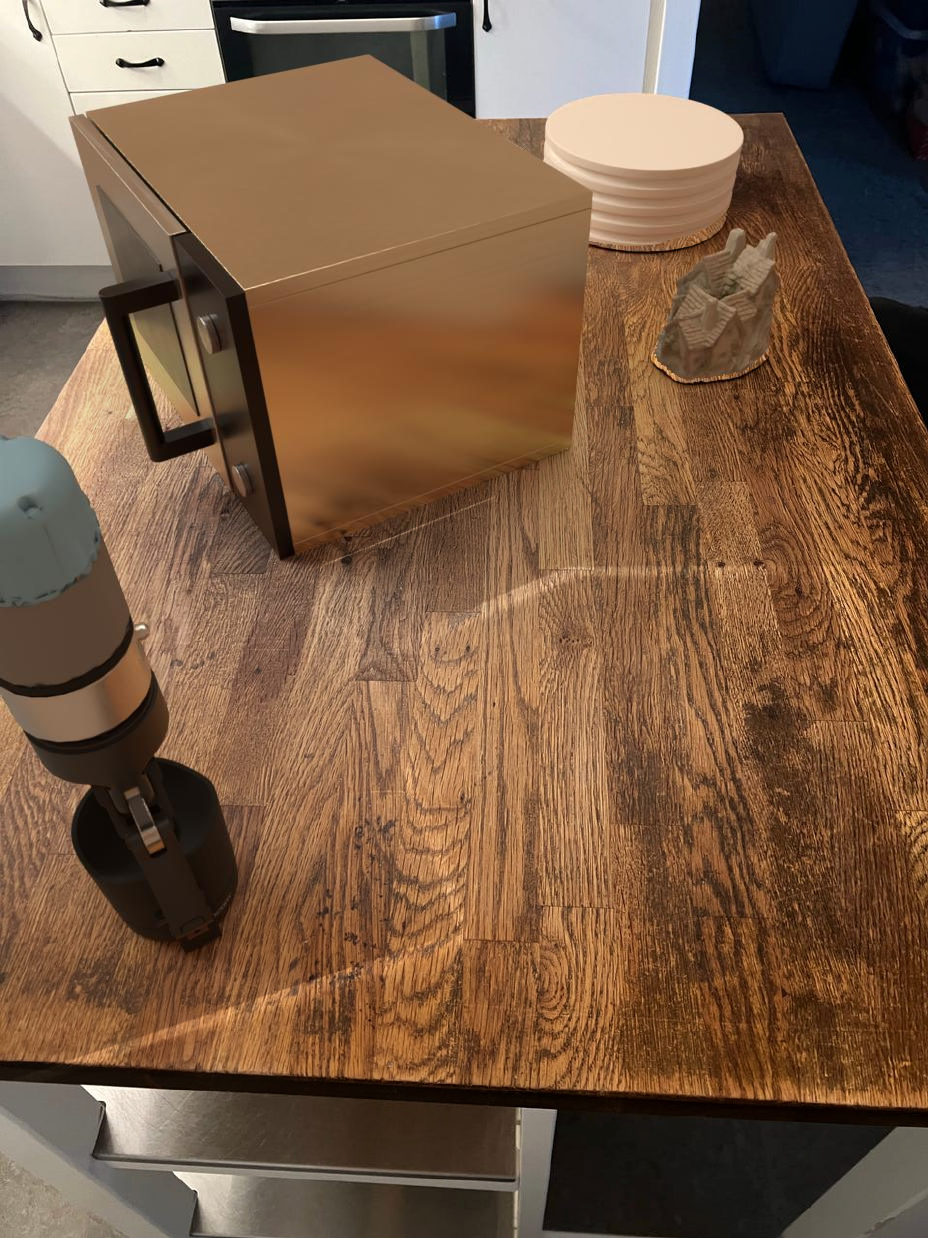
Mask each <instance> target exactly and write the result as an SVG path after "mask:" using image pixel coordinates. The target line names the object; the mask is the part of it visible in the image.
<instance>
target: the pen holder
mask: <svg viewBox="0 0 928 1238" xmlns="http://www.w3.org/2000/svg"><path fill="white" fill-rule="evenodd" d="M155 758H156V761H157V763H158V765H159V767H160V770H161V772H162V775H163V778H162V785H163V787H164V790H165V792H166V794H167V797H168V799H169V801H170V803H171V806H172V808H173V810H174V815H173V817H172V818H171V820H172V822H173V824H174V827H175V828H174V830H173V831H174V833H175V836H176V838H177V840H178V842H179V845H180V847H181V849H182V851H183V853H184V856H185V858H186V860H187V862H188V865H189V867H190V869H191V871H192V874H193V876H194V878H195V880H196V883H199V884H200V886H201V888H202V890H203V892H204V895H205V897H206V899H207V901H208V904H209V906H210V908H211V910H212V912H213V914H214V917H215V919H216V922H217V921H218V920H220V919H221V917H222V916H223V915H224V914H225V912H227V909H228V908H229V907H230V905H231V903H232V902H233V899H234V897H235V895H236V892H237V888H238V881H239V870H238V864H237V859H236V855H235V852H234V847H233V844H232V841H231V837H230V834H229V830H228V827H227V824H226V820H225V817H224V813H223V809H222V807H221V806H222V805H221V802H220V800H219V796H218V793H217V790H216V787H215V786H214V783H213V782H212V781H211V779H209V777H207V776H205V775H204V774H202V773H201V772H199V771H198V770H195V769H194V768H191V766H190V767H189V766H188V765H185V764H183V763H181V762H178V761H175V760H172V759H169V758H164V757H160V756H159V757H158V756H155ZM148 776H149V775H148ZM148 779H149V782H150V784H151V786H152V789H153V791H154V794H155V796H154V800H153V802H152V803H151V804H150V805H148V808H149V807H151V806H153V805H155V804H157V803H158V801H159V798H158V795H157V793H156V791H155V789H154V786H153V784H152V782H151V780H150V777H148ZM119 813H120V815H121V816H122V817H124V818H126V817H129V816H131V815H132V813H129V814H124V813H121V812H120V811H119ZM70 836H71V843H72V848H73V850H74V852H75V854H76V857H77V858H78V860H79V862H80V863H81V865H82V866H83V868H84V870H85V871H86V872H87V873H88V875H89V876H90V878H91V879H92V880H93V882H94V884H96V886H97V887H98V889H99V890H100V892H101V893H102V894H103V896H104V897H105V899H106V900H107V901H108V902H109V904H110V905H111V907H112V908H113V910H114V911H115V912H116V914H118V917H120V919H121V920H122V921H123V923H124V924H125V925H126V926H127V927H128V928H129V929H130V930H131V931H133V932H134V933H135V934H137V935H138V936H140V937H142V938H144V939H146V940H150V941H154V942H160V943H161V942H163V943H164V942H165V943H170V942H179V941H178V939H176V938H174V936H172V935H171V932H170V930H169V928H170V925H169V923H168V922H167V923H165V924H163V925H161V926H159V927H158V926H157V924H156V922H155V919H154V916H153V913H154V912H156V911H158V910H160V909H161V907H160V905H159V903H158V901H157V899H156V897H155V895H154V893H153V891H152V889H151V887H150V885H149V883H148V881H147V879H146V877H145V875H144V873H143V871H142V869H141V867H140V865H139V863H138V861H137V859H136V857H135V856H134V854H133V852H132V850H130V849H128V847H127V845H126V843H125V841H126V839H123V838H121V837H120V836H119V834H118V832H117V830H116V828H115V826H114V824H113V822H112V820H111V817H110V815H109V813H108V811H107V809H106V808H105V807H103V806H101V805H100V804H99V803H98V801H97V799H96V797H95V795H94V792H93V790H92V788H91V787H89V789H88V790H87V791H86V792H85V794H84V795H83V796H82V798H81V799H80V801H79V803H78V804H77V806H76V808H75V811H74V814H73V816H72V821H71V827H70Z"/></svg>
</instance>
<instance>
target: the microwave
mask: <svg viewBox="0 0 928 1238" xmlns="http://www.w3.org/2000/svg"><path fill="white" fill-rule="evenodd" d="M85 117H86V118H87V119H88V120H89V121H90V122H91V123H92V125H93V126H94V127H95V128H96V129H97V130H98V131H99V132H100V134H101V135H102V136H103V137H104V138H105V139H106V140H107V142H108V143H109V144H110V145H111V146H112V147H113V148H114V149H115V151H116V152H117V153H118V154H119V155H120V156H121V157H122V159H123V160H124V161H125V162H126V163H127V164H128V165H129V166H130V168H131V169H132V170H133V171H134V172H135V173H136V174H137V176H138V177H139V178H140V179H141V180H142V181H143V182H144V183H145V185H146V186H147V187H148V188H149V189H150V190H151V191H152V193H153V194H154V195H155V196H156V197H157V198H158V199H159V200H160V202H161V203H162V204H163V205H164V206H165V207H166V208H167V210H168V211H169V212H170V213H171V214H172V215H173V216H174V217H175V219H176V220H177V221H178V222H179V223H180V224H181V225H182V226H183V228H184V229H185V230H186V231H187V234H184V235H180V236H176V237H174V242H175V246H176V251H177V255H178V259H179V263H180V267H181V271H182V275H183V280H184V284H185V288H186V292H187V296H188V300H189V305H190V309H191V313H192V317H193V321H194V325H195V329H196V334H197V338H198V342H199V346H200V350H201V354H202V359H203V363H204V367H205V371H206V375H207V379H208V383H209V388H210V392H211V396H212V400H213V404H214V408H215V412H216V417H217V421H218V425H219V429H220V433H221V437H222V442H223V446H224V450H225V454H226V458H227V462H228V466H229V471H230V475H231V479H232V483H233V487H234V491H233V492H234V494H235V495H236V497H237V499H238V500H239V502H240V503H241V504H242V506H243V507H244V508H245V510H246V512H247V513H248V514H249V516H250V518H251V520H252V521H253V522H254V524H255V525H256V526H257V528H258V529H259V531H260V533H261V534H262V535H263V537H264V539H265V540H266V541H267V543H268V544H269V546H270V547H271V549H272V550H273V552H274V553H275V555H276V556H277V557H278V559H279V560H280V561H281V560H284V559H287V558H289V557H292V556H294V555H295V556H297V555H300V554H302V553H305V552H307V551H310V550H312V549H315V548H317V547H320V546H322V545H325V544H328V543H329V542H333V541H336V540H338V539H341V538H343V537H346V536H348V535H351V534H353V533H355V532H358V531H362V530H364V529H366V528H369V527H371V526H374V525H377V524H379V523H381V522H384V521H387V520H389V519H391V518H395V517H397V516H399V515H402V514H405V513H407V512H409V511H412V510H414V509H417V508H419V507H422V506H425V505H428V504H430V503H433V502H436V501H438V500H440V499H443V498H445V497H448V496H450V495H453V494H456V493H458V492H461V491H464V490H466V489H469V488H471V487H474V486H476V485H479V484H482V483H485V482H488V481H490V480H493V479H495V478H498V477H500V476H503V475H505V474H508V473H511V472H513V471H516V470H519V469H521V468H523V467H526V466H529V465H531V464H533V463H536V462H539V461H541V460H544V459H547V458H549V457H551V455H552V456H554V455H556V453H557V452H560V451H562V450H565V449H567V448H570V447H571V448H572V442H573V434H574V422H575V409H576V399H577V385H578V374H579V363H580V353H581V352H580V351H581V342H582V341H581V339H582V328H583V319H584V318H583V315H584V305H585V293H586V292H585V291H586V281H587V270H588V269H587V268H588V259H589V258H588V257H589V246H590V245H589V236H590V224H591V212H592V198H593V191H591V190H589V189H588V188H586V187H585V186H583V185H581V184H580V183H578V182H576V181H575V180H573V179H572V178H570V177H568V176H567V175H565V174H563V173H562V172H560V171H558V170H557V169H555V168H554V167H552V166H550V165H549V164H547V163H545V162H544V161H543V159H541V158H539V157H537V156H535V155H534V154H532V153H531V152H529V151H527V150H526V149H525V148H524V147H523V148H524V149H525V150H524V149H523V148H521V147H519V146H518V145H516V144H514V143H513V142H511V141H509V140H508V139H506V138H505V137H506V136H505V137H504V136H502V134H500V133H497V132H496V131H495V130H493V129H491V128H490V127H488V126H487V125H486V124H484V123H483V122H480V121H478V120H477V119H475V118H473V117H472V116H470V115H469V114H467V113H465V112H464V111H462V110H460V109H459V108H457V107H455V106H454V105H452V104H451V103H449V102H447V101H446V100H444V99H443V98H441V97H439V96H438V95H436V94H435V93H433V92H431V91H430V90H428V89H426V88H424V87H423V86H421V85H420V84H418V83H416V82H415V81H413V80H411V79H409V78H408V77H406V75H404V74H401V73H400V72H399V71H397V70H395V69H393V68H392V67H391V66H389V65H387V64H385V63H384V62H382V61H380V60H379V59H377V58H375V56H373V55H371V54H369V53H368V54H363V55H358V56H357V55H356V56H353V57H348V58H343V59H338V60H334V61H328V62H323V63H319V64H313V65H309V66H308V65H307V66H304V67H299V68H294V69H289V70H283V71H279V72H274V73H270V74H265V75H264V74H263V75H260V76H255V77H250V78H249V77H248V78H244V79H239V80H235V81H229V82H224V83H220V84H215V85H209V86H205V87H200V88H196V89H195V88H194V89H190V90H185V91H180V92H175V93H170V94H166V95H161V96H155V97H151V98H146V99H141V100H136V101H131V102H127V103H126V102H125V103H121V104H116V105H111V106H107V107H101V108H96V109H91V110H87V111H85ZM571 448H570V449H571ZM567 450H568V449H567ZM565 451H566V450H565ZM562 452H563V451H562ZM560 453H561V452H560ZM557 454H558V453H557Z"/></svg>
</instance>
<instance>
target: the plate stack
mask: <svg viewBox="0 0 928 1238" xmlns="http://www.w3.org/2000/svg"><path fill="white" fill-rule="evenodd" d="M544 127H545V128H544V143H543V145H544V146H543V159H542V161H544V162H545V163H547V164H549V165H550V166H552V167H554V168H555V169H557V170H558V171H560V172H562V173H563V174H565V175H567V176H568V177H570V178H572V179H573V180H575V181H576V182H578V183H580V184H581V185H583V186H585V187H586V188H588V189H589V190H591V191H593V198H592V212H591V224H590V236H589V241H593V242H599V243H603V244H612V245H624V246H645V245H655V244H660V243H663V242H664V241H666V240H667V241H668V240H671V241H672V240H673V239H676V238H681V237H685V236H690V235H692V234H695V233H696V232H699V231H701V230H703V229H705V228H707V227H708V226H710V225H712V224H713V223H714V222H715V221H716V220H718V218H720V217H721V216H722V215H723V214H724V213H725V212H726V211H727V209H728V208H729V207H730V205H731V201H732V198H733V197H732V196H733V189H734V187H735V182H736V179H737V178H736V177H737V171H738V169H739V168H738V167H739V164H740V158H741V152H742V149H743V144H744V139H745V138H744V137H745V136H744V135H745V134H744V131H743V129H742V127H741V126H740V125H739V123H738V122H737V121H736V120H735V119H734V118H732V117H731V116H730V115H728V114H727V113H725V112H723V111H721V110H719V109H717V108H715V107H713V106H710V105H708V104H705V103H702V102H699V101H695V100H691V99H687V98H683V97H679V96H672V95H666V94H659V93H658V94H657V93H646V92H616V93H606V94H597V95H591V96H587V97H583V98H579V99H576V100H573V101H570V102H568V103H565V104H563V105H561V106H560V107H558V108H556V109H555V110H554V111H552V113H551V114H549V116H548V117H547V119H546V122H545V126H544ZM667 241H666V242H667ZM671 241H670V242H671ZM666 242H664V243H666ZM668 243H669V242H668Z"/></svg>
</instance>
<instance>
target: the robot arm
mask: <svg viewBox="0 0 928 1238" xmlns="http://www.w3.org/2000/svg"><path fill="white" fill-rule="evenodd" d="M150 636H151V630H150V627H149V625H148V624H147V623H145V622H144V621H139V622H137V623H135V622H134V620H133V618H132V615H131V612H130V608H129V605H128V602H127V600H126V597H125V594H124V591H123V588H122V586H121V583H120V580H119V578H118V575H117V572H116V569H115V567H114V563H113V562H112V559H111V556H110V553H109V551H108V548H107V545H106V543H105V540H104V537H103V534H102V531H101V525H100V521H99V519H98V516H97V513H96V510H95V508H93V507H91V501H90V498H89V497H88V495H86V493H85V492H84V491H83V489H82V488H81V485H80V483H79V481H78V479H77V477H76V474H75V472H74V470H73V468H72V466H71V465H70V463H69V461H68V460H67V459H66V457H65V456H64V455H63V454H62V453H61V452H60V451H59V450H58V449H57V448H55V447H54V446H52V445H50V444H49V443H47V442H45V441H43V440H41V439H39V438H36V437H32V436H27V435H20V436H17V437H14V438H8V437H7V436H5V435H4V434H2V433H0V697H1V698H2V700H3V701H4V703H5V705H6V707H7V709H8V710H9V712H10V714H11V716H12V717H13V719H14V721H15V722H16V723H17V725H18V726H19V727H20V728H21V729H22V732H23V733H24V735H25V737H26V739H27V740H28V742H29V744H30V746H31V747H32V749H33V751H34V752H35V754H36V756H37V757H38V759H39V760H40V761H39V762H41V764H42V765H43V767H44V769H46V770H47V772H49V773H50V774H52V775H53V776H54V777H56V778H58V779H59V780H61V781H64V782H67V783H72V784H76V785H86V786H90V788H92V790H93V792H94V795H95V797H96V799H97V801H98V803H99V804H100V805H101V806H103V807H105V808H106V809H107V811H108V813H109V815H110V817H111V820H112V822H113V824H114V826H115V828H116V830H117V832H118V834H119V836H120V837H121V838H123V839H126V841H125V843H126V845H127V847H128V849H130V850H132V852H133V854H134V856H135V857H136V859H137V861H138V863H139V865H140V867H141V869H142V871H143V873H144V875H145V877H146V879H147V881H148V883H149V885H150V887H151V889H152V891H153V893H154V895H155V897H156V899H157V901H158V903H159V905H160V907H161V909H160V910H158V911H156V912H154V913H153V916H154V919H155V922H156V924H157V926H158V927H159V926H161V925H163V924H165V923H167V922H168V923H169V925H170V928H169V930H170V932H171V935H172V936H174V938H176V939H178V941H177V942H178V943H179V945H180V946H181V948H182V950H183V952H184V954H185V955H189V954H190V953H192V952H194V951H196V950H197V949H199V948H201V947H203V946H205V945H207V944H209V943H211V942H213V941H214V940H217V939H219V938H220V937H222V936H223V933H222V931H221V928H220V926H219V924H218V922H217V921H216V919H215V917H214V914H213V912H212V910H211V908H210V906H209V904H208V901H207V899H206V897H205V895H204V892H203V890H202V888H201V886H200V884H199V883H196V880H195V878H194V876H193V874H192V871H191V869H190V867H189V865H188V862H187V860H186V858H185V856H184V853H183V851H182V849H181V847H180V845H179V842H178V840H177V838H176V836H175V833H174V831H173V830H174V828H175V827H174V824H173V822H172V820H171V818H172V817H173V815H174V810H173V808H172V806H171V803H170V801H169V799H168V797H167V794H166V792H165V790H164V787H163V785H162V778H163V775H162V772H161V770H160V767H159V765H158V763H157V761H156V758H155V757H156V756H155V754H157V752H158V751H159V750H160V748H161V747H162V745H163V743H164V741H165V740H166V736H167V734H168V730H169V726H170V712H169V708H168V705H167V701H166V700H165V699H166V698H165V697H164V694H163V691H162V689H161V687H160V684H159V682H158V679H157V676H156V674H155V672H154V670H153V668H152V667H151V664H150V662H149V658H148V656H147V654H146V651H145V648H144V646H143V644H142V641H145V640H147V639H148V638H149V637H150ZM148 775H149V776H148ZM148 777H150V780H151V782H152V784H153V786H154V789H155V791H156V793H157V795H158V798H159V801H158V803H157V804H155V805H153V806H151V807H149V808H148V805H150V804H151V803H152V802H153V800H154V796H155V794H154V791H153V789H152V786H151V784H150V782H149V779H148ZM119 811H120V812H121V813H124V814H129V813H132V815H131V816H129V817H126V818H124V817H122V816H121V815H120V813H119Z"/></svg>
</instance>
